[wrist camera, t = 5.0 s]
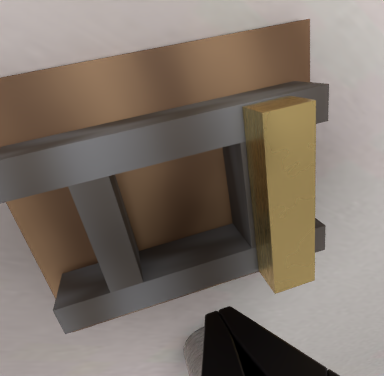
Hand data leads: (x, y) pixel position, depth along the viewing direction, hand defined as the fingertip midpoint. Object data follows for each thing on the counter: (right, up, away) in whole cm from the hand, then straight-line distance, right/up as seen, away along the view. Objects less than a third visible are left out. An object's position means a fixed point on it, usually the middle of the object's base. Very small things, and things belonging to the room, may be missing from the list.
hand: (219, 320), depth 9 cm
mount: (-2, +4, +9) cm, 10 cm away
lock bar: (+3, +4, +7) cm, 8 cm away
